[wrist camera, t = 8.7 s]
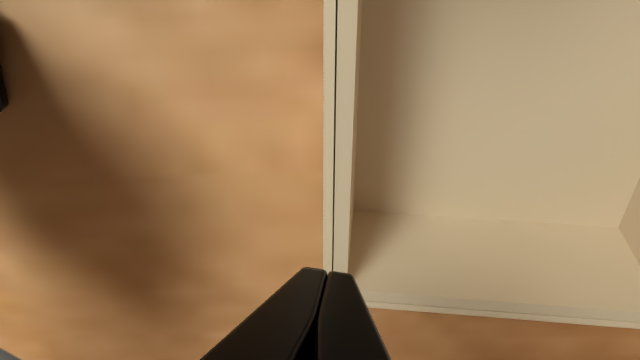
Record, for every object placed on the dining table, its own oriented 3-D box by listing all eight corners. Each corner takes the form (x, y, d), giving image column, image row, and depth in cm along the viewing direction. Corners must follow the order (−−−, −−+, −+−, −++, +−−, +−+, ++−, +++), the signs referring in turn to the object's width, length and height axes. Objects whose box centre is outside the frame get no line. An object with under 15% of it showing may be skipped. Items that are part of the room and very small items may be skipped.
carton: (334, 218, 23) (323, 303, 19) (342, -270, 14) (323, -308, 10) (620, 237, 22) (673, 331, 18) (848, -280, 13) (1070, -327, 8)
